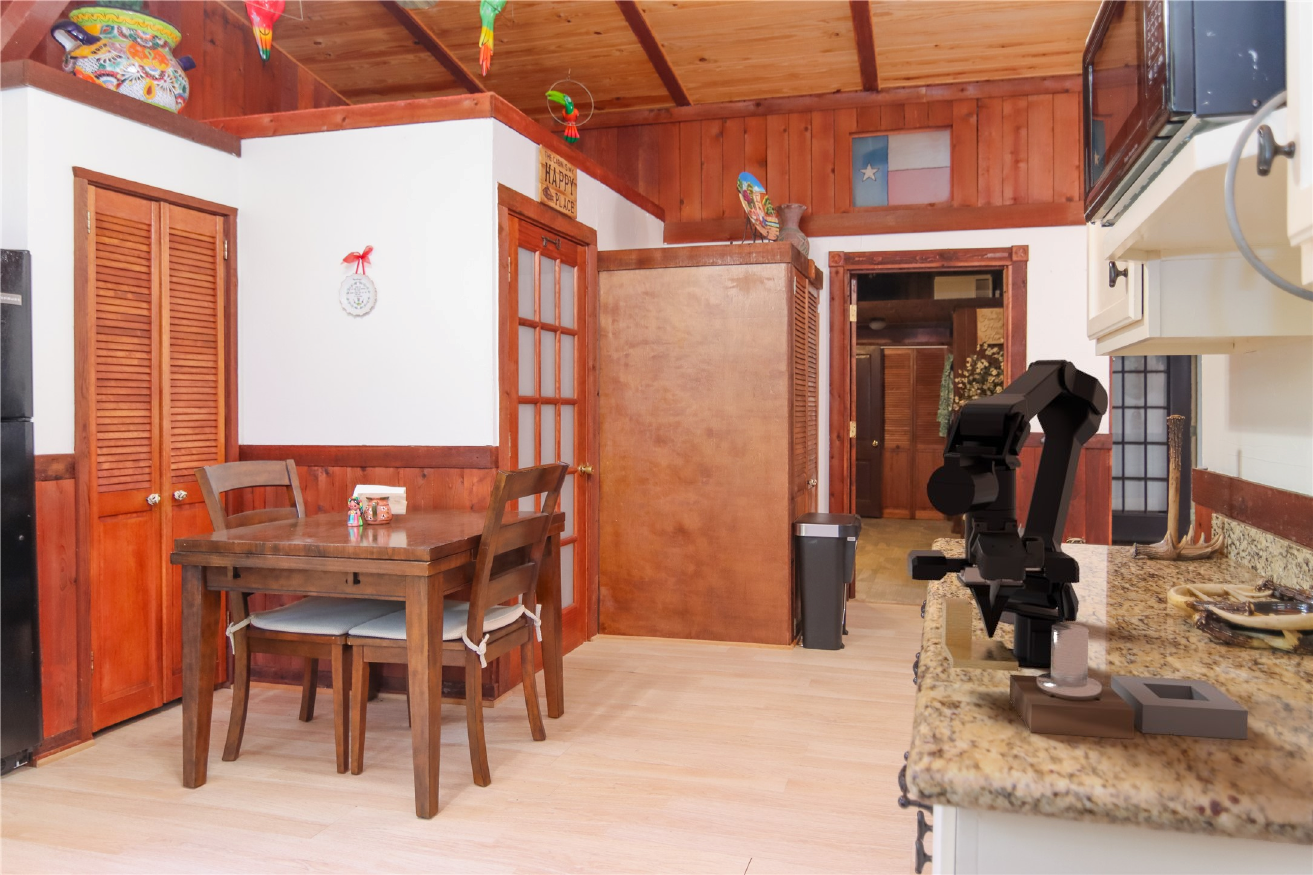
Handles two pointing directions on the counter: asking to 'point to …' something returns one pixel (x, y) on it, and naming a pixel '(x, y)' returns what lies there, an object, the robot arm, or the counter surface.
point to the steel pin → (1069, 666)
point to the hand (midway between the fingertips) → (989, 637)
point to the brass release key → (970, 640)
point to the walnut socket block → (1072, 711)
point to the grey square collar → (1181, 707)
